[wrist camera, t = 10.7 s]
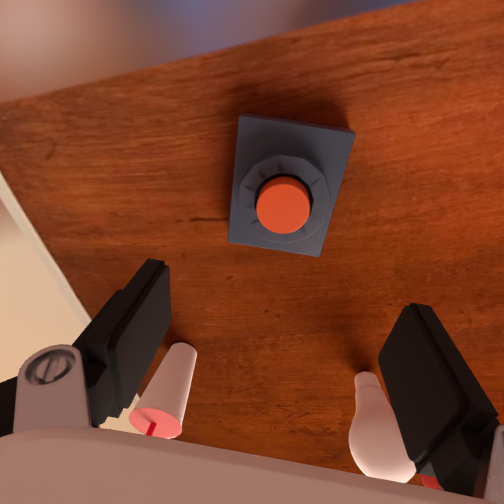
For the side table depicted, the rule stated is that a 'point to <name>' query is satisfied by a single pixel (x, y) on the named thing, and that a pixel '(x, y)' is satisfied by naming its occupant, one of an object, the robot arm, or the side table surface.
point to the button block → (290, 165)
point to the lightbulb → (377, 434)
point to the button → (283, 205)
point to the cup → (166, 394)
